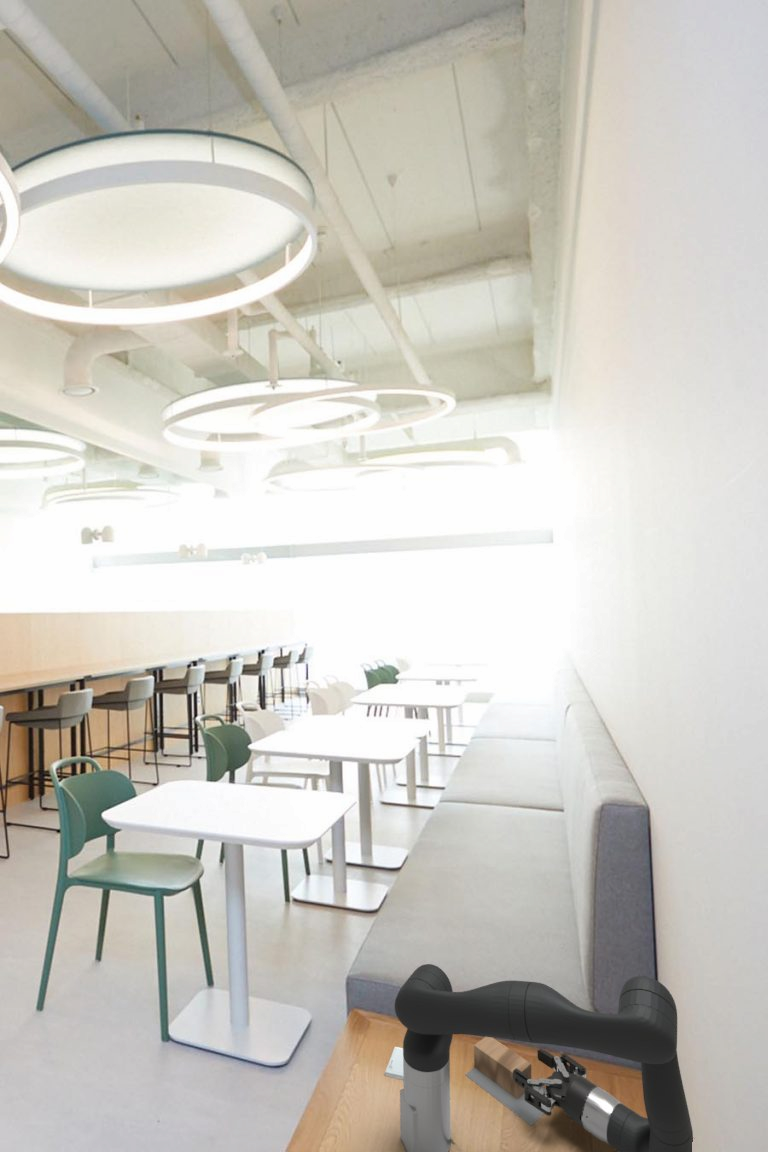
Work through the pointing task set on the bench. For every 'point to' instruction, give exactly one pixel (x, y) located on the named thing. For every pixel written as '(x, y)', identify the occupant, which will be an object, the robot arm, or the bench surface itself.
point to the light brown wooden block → (500, 1064)
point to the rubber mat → (507, 1097)
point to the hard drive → (395, 1064)
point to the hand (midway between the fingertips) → (526, 1063)
